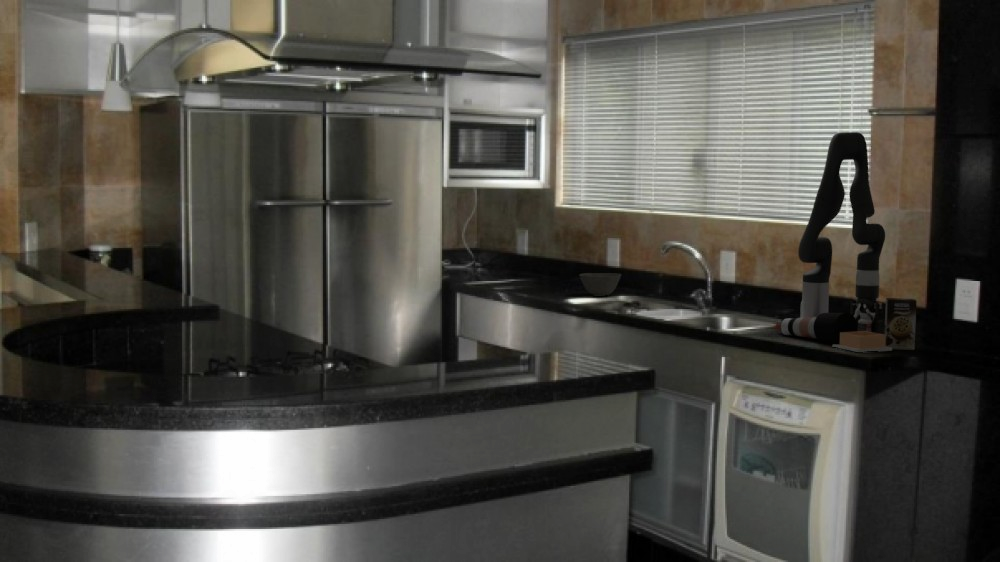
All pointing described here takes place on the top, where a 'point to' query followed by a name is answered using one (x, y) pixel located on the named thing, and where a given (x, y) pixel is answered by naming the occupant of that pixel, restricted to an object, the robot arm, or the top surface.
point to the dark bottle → (819, 326)
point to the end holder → (862, 341)
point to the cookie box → (900, 323)
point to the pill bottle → (864, 323)
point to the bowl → (600, 282)
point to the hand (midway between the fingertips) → (866, 331)
